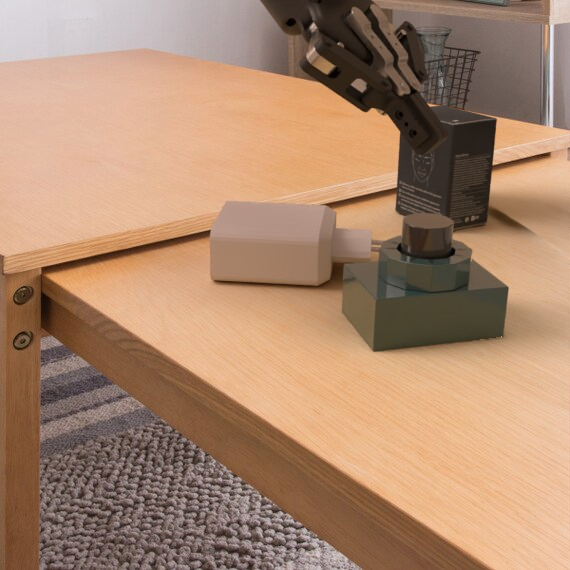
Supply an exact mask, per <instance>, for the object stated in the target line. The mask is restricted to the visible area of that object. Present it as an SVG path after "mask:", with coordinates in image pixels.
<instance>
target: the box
mask: <svg viewBox="0 0 570 570" xmlns="http://www.w3.org/2000/svg"><path fill="white" fill-rule="evenodd" d="M430 108H431V109H432V110H433V112H434V113H435V114H436V116H437V117H438V118H439V120H440V121H441V123H442V124H443V125H444V127H445V128H446V129H447V131H448V137H447V139H446V140H445V141H444V142H442V143H441V144H440V145H439V146H438V147H437V148H435V149H434V150H433V151H431V152H428V153H426V154H424V155H418V154H416V153H415V151H414V150H413V149H412V147H411V146H410V145H409V143H408V142H407V140H406V139H405V138H404V136H403V135H402V134H401V132H400V131H399V145H398V161H397V179H396V194H395V195H396V196H395V212H396V213H399V214H401V215H403V216H407V215H411V214H416V213H432V214H439V215H443V216H446V217H448V218H450V219H452V220H453V222H454V227H453V231H456V230H457V231H458V230H462V229H468V228H472V227H477V226H481V225H486V224H487V222H488V216H489V205H490V194H491V185H492V184H491V183H492V175H493V172H492V171H493V165H494V155H495V144H496V134H497V122H498V118H497V117H494V116H488V115H485V114H481V113H477V112H473V111H468V110H464V109H461V108H457V107H452V106H448V105H443V104H442V105H431V106H430Z"/></svg>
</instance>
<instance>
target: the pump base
mask: <svg viewBox="0 0 570 570" xmlns="http://www.w3.org/2000/svg"><path fill="white" fill-rule="evenodd" d="M401 237H402V234H400V235H397V236H393V237H391V238H388V239H386V240H385V239H384V240H385V241H383V243H382V245H380V246H379V247H380V249H379V252H378V260H377V261H370V262H364V263H343V272H342V296H341V298H342V299H341V314H342V315H343V316H344V317H345V319H347V321H348V322H349V324H350V325H351V326H352V327H353V328H354V329H355V331H356V332H357V333H358V335H359V336H360V337H361V338H362V340H363V341H364V342H365V344H366V345H367V346H368V347H369V348H370V350H371V351H372V353H373V352H375V353H376V352H384V351H385V352H386V351H393V350H403V349H411V348H420V347H429V346H430V347H431V346H438V344H439V345H446V343H447V345H448V344H456V343H455V342H458V343H465V342H464V341H467V342H474V341H473V340H476V341H481V340H480V339H485V340H490V339H489V338H494V339H497V338H496V337H501V336H502V337H503V338H504V335H505V334H504V333H505V326H506V317H507V308H508V307H507V306H508V299H509V290H510V287H509V286H508V285H507V284H506V283H504V282H503V281H502V280H501V279H499V278H498V277H497V276H496V275H494V274H493V273H491V272H490V271H489V270H487V268H485V267H484V266H483V265H481V264H480V263H479V262H477V261H476V260H475V259H473V251H474V250H473V249H472V248H471V247H469V246H468V245H466V244H465V243H464V242H462V241H460V240H456V239H453V238H452V250H451V257H448V258H445V259H433V260H428V259H418V258H413V257H410V256H406V255H403V254H401ZM462 341H463V342H462Z"/></svg>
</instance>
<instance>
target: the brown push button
mask: <svg viewBox="0 0 570 570" xmlns="http://www.w3.org/2000/svg"><path fill="white" fill-rule="evenodd" d="M401 223H402V224H401V235H402V237H401V254H403V255H406V256H410V257H413V258H418V259H428V260H433V259H445V258H448V257H451V250H452V239H453V237H454V230H453V227H454V222H453V220H452V219H450V218H448V217H446V216H443V215H439V214H432V213H416V214H411V215H407V216H406V215H404V217H403V218H402V222H401Z"/></svg>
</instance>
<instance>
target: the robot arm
mask: <svg viewBox="0 0 570 570" xmlns="http://www.w3.org/2000/svg"><path fill="white" fill-rule="evenodd" d="M259 1H260V3H261V4H262V5H263V7H264V8H265V9H266V10H267V13H268V14H269V15H270V16H271V18H272V19H273V21H275V23H276V24H277V26H278V27H279V28H280V30H281V31H282V32H283V34H286V35H288V36H294V37H295V36H302V38H303V39H304V41H305V42H306V43H307V44H308V51H307V52H306V53H305V54H304V55H303V57H301V59H300V60H299V61H298V65H299V67H300V69H301V70H302V71H303V72H304V73H305V74H307V75H308V76H310V77H311V78H313V79H314V80H315V81H317V82H319V83H320V84H321V85H322V86H325V87H326V88H327V89H328V90H330V91H332V92H333V93H335V94H336V95H337V96H339V97H341V98H342V99H343V100H345V101H346V102H347V103H349V104H351V105H352V106H353V107H355V108H357V109H359V110H360V111H361V112H363V113H368V112H370V110H372V109H373V110H375V111H376V112H377V113H378V114H380V116H383V117H385V116H388V118H389V119H390V120H391V122H392V123H393V125H394V126H395V128H397V130H398V131H399V133H400V132H401V134H402V135H403V136H404V138H405V139H406V140H407V142H408V143H409V145H410V146H411V147H412V149H413V150H414V151H415V153H416V154H418V155H424V154H426V153H428V152H431V151H433V150H434V149H435V148H437V147H438V146H439V145H440V144H441V143H442V142H444V141H445V140H446V139H447V137H448V131H447V129H446V128H445V127H444V125H443V124H442V123H441V121H440V120H439V118H438V117H437V116H436V114H435V113H434V112H433V110H432V109H431V108H430V107H431V106H430V105H429V104H428V102H427V101H426V100H425V98H424V96H422V94H421V93H420V91H422V89H423V86H422V85H423V84H424V83H425V82H426V81H427V80H429V75H428V71H427V67H426V63H425V60H424V55H423V51H422V48H421V44H420V41H419V36H418V33H417V29H416V27H415V26H414V25H413V24H412V23H411V22H410V21H408V20H405V21H403V22H402V23H401V24H400V25H399V26H396V25H395V24H392V23H391V22H389V19H388V17H387V16H386V14H385V12H384V10H383V9H382V8H381V7H380V6H379V5H378V4H377V3H376V2H375V1H373V0H259Z"/></svg>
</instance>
